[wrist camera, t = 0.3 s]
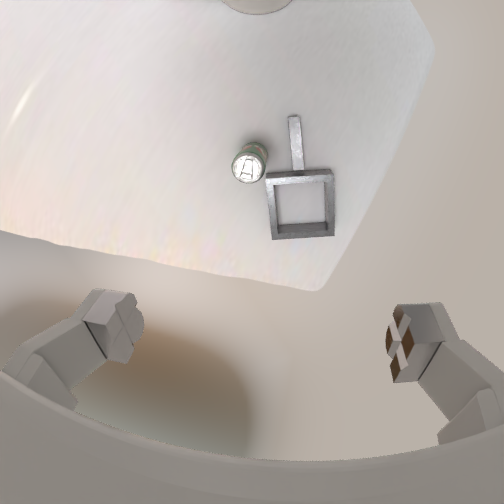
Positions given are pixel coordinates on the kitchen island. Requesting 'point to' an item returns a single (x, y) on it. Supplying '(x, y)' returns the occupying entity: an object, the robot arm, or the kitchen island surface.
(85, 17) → the kitchen island surface
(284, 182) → the square frame with handle
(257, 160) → the soda can
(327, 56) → the kitchen island surface
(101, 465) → the robot arm
